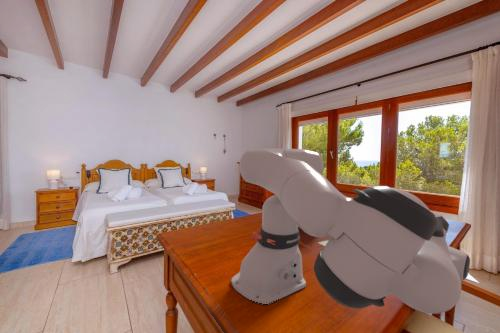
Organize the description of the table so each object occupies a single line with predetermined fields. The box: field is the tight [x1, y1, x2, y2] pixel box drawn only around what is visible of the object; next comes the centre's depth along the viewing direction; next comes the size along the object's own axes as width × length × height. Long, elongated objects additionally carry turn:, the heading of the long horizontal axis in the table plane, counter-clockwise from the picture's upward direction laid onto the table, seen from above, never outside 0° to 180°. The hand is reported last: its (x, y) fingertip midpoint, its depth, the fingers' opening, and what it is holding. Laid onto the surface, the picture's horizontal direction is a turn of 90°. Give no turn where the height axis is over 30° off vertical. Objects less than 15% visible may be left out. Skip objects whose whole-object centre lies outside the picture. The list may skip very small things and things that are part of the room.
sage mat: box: [317, 239, 329, 248], centre depth 86 cm, size 10×10×1 cm
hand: (366, 232), depth 84 cm, fingers open, 8 cm apart
